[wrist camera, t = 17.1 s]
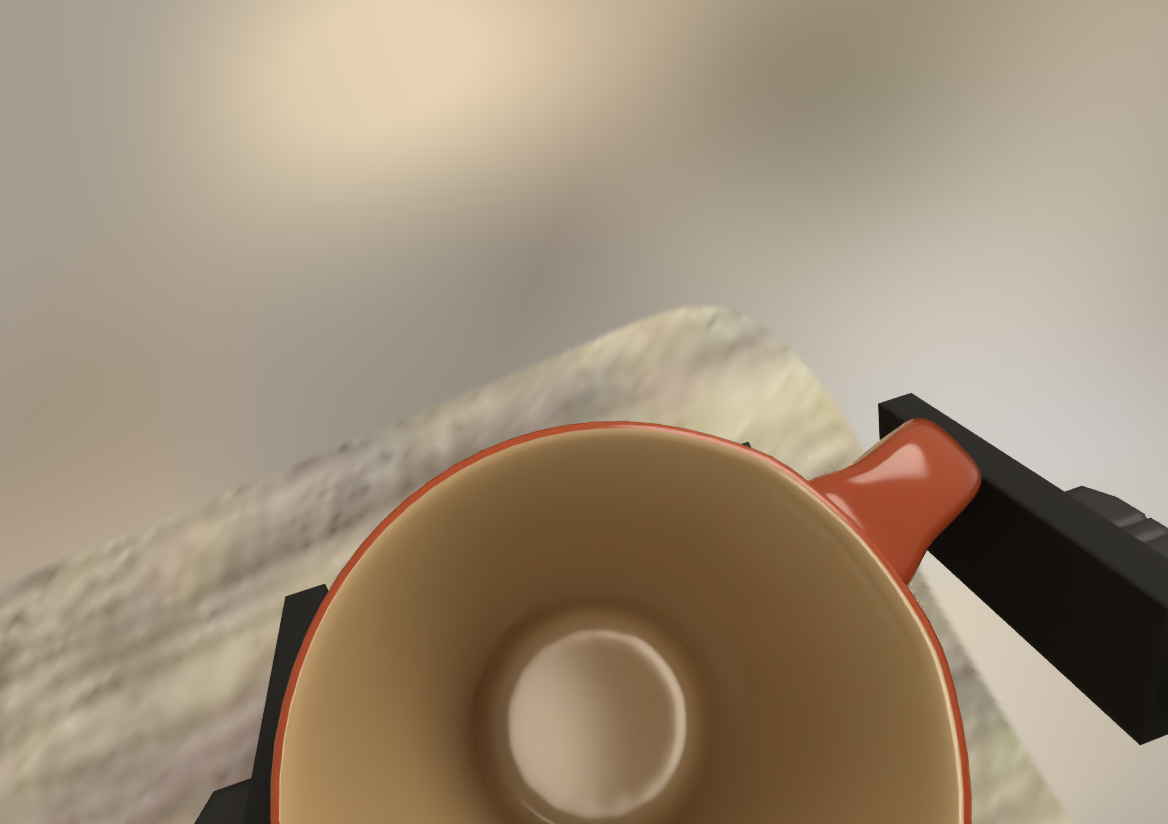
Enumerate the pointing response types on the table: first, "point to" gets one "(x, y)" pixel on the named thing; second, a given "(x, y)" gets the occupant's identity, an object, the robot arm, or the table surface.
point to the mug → (637, 642)
